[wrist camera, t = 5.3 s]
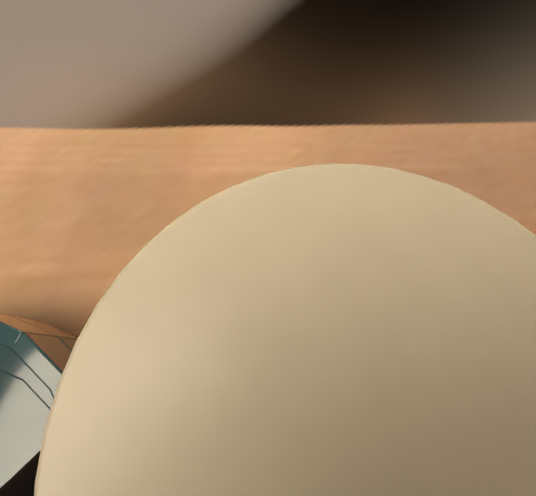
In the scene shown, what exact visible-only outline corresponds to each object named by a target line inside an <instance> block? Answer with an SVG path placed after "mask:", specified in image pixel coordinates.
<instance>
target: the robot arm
mask: <svg viewBox="0 0 536 496" xmlns="http://www.w3.org/2000/svg"><path fill="white" fill-rule="evenodd" d="M40 451H41V450H40ZM40 451H39V452H38V453H37V454H36V455H35V456H34V457H33V458H32V459H30V460H29V461H28V462H27V463H26V464H25V465H24V466H23V467H22V468H21V469H20V470H19V471H18V472H17V473H16V474H15V475H14V476H13V477H12V478H11V479H9V480H8V481H7V482H6V483H5V484H4V485H3V486H2V487H1V488H0V496H34V489H35V479H36V474H37V468H38V462H39V457H40Z"/></svg>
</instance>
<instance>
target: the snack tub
mask: <svg viewBox="0 0 536 496" xmlns="http://www.w3.org/2000/svg"><path fill="white" fill-rule="evenodd" d="M34 496H536V235H535V234H533V233H532V232H531V231H529V230H528V229H527V228H525V227H524V226H523V225H521V224H520V223H519V222H517V221H516V220H515V219H513V218H512V217H510V216H508V215H507V214H505V213H503V212H502V211H500V210H498V209H497V208H495V207H493V206H492V205H490V204H488V203H487V202H485V201H483V200H481V199H479V198H477V197H475V196H473V195H471V194H469V193H466V192H464V191H462V190H460V189H458V188H456V187H454V186H451V185H448V184H446V183H443V182H440V181H437V180H434V179H431V178H428V177H426V176H423V175H419V174H415V173H411V172H406V171H402V170H398V169H394V168H389V167H380V166H372V165H364V164H319V165H310V166H300V167H294V168H289V169H285V170H280V171H276V172H272V173H267V174H264V175H261V176H258V177H255V178H252V179H250V180H247V181H244V182H241V183H239V184H236V185H233V186H231V187H229V188H227V189H225V190H223V191H221V192H219V193H217V194H215V195H213V196H211V197H209V198H207V199H205V200H204V201H202V202H200V203H199V204H197V205H196V206H194V207H193V208H191V209H190V210H188V211H187V212H185V213H184V214H182V215H181V216H179V217H178V218H176V219H175V220H174V221H173V222H171V223H170V224H169V225H168V226H167V227H165V228H164V229H163V230H162V231H161V232H160V233H158V234H157V235H156V236H155V237H154V238H152V239H151V240H150V241H149V242H148V243H147V244H146V245H145V246H144V247H143V248H142V249H141V250H140V251H139V252H138V254H137V255H136V256H135V257H134V258H133V259H132V260H131V261H130V262H129V263H128V264H127V265H126V266H125V267H124V269H123V270H122V271H121V272H120V273H119V275H118V276H117V278H116V279H115V280H114V282H113V283H112V284H111V286H110V287H109V288H108V290H107V291H106V293H105V294H104V295H103V297H102V298H101V299H100V301H99V302H98V304H97V305H96V307H95V309H94V311H93V312H92V314H91V316H90V318H89V319H88V321H87V323H86V325H85V326H84V328H83V330H82V332H81V333H80V335H79V337H78V339H77V341H76V343H75V345H74V347H73V350H72V352H71V354H70V357H69V359H68V362H67V364H66V366H65V369H64V371H63V373H62V376H61V378H60V380H59V383H58V386H57V389H56V392H55V396H54V399H53V403H52V406H51V409H50V413H49V416H48V419H47V423H46V426H45V430H44V434H43V440H42V445H41V451H40V457H39V462H38V468H37V474H36V479H35V489H34Z"/></svg>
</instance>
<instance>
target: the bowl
mask: <svg viewBox="0 0 536 496" xmlns="http://www.w3.org/2000/svg"><path fill="white" fill-rule="evenodd" d="M77 339H78V337H75V336H73V335H71V334H68V333H66V332H64V331H62V330H59V329H57V328H55V327H52V326H50V325H48V324H46V323H43V322H41V321H37V320H31V319H26V318H21V317H16V316H11V315H5V314H0V488H1V487H2V486H3V485H4V484H5V483H6V482H7V481H8V480H9V479H11V478H12V477H13V476H14V475H15V474H16V473H17V472H18V471H19V470H20V469H21V468H22V467H23V466H24V465H25V464H26V463H27V462H28V461H29V460H30V459H32V458H33V457H34V456H35V455H36V454H37V453H38V452H39V451H40V450H41V445H42V440H43V434H44V430H45V426H46V423H47V419H48V416H49V413H50V409H51V406H52V403H53V399H54V396H55V392H56V389H57V386H58V383H59V380H60V378H61V376H62V373H63V371H64V369H65V366H66V364H67V362H68V359H69V357H70V354H71V352H72V350H73V347H74V345H75V343H76V341H77Z"/></svg>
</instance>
